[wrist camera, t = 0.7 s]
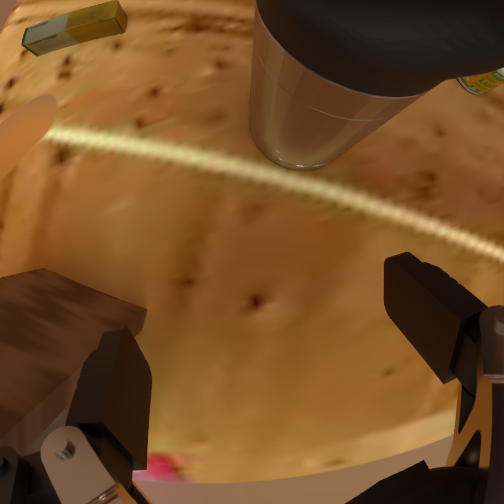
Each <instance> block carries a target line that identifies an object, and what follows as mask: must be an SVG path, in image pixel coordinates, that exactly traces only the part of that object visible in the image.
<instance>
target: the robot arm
mask: <svg viewBox="0 0 504 504" xmlns="http://www.w3.org/2000/svg"><path fill="white" fill-rule="evenodd" d="M502 68H504V0H256V1H255V18H254V40H253V57H252V74H251V91H250V106H249V127H250V131H251V134H252V138H253V140H254V141H255V143H256V145H257V147H258V148H259V149H260V150H261V152H262V153H263V154H264V155H265V156H266V157H268V158H269V159H270V160H271V161H273V162H274V163H276V164H278V165H280V166H282V167H285V168H289V169H292V170H302V171H307V170H314V169H318V168H321V167H323V166H326V165H327V164H329V163H331V162H332V161H334V160H335V159H336V158H338V157H339V156H340V155H342V154H343V153H345V152H346V151H347V150H349V149H350V148H352V147H353V146H354V145H356V144H357V143H358V142H360V141H361V140H362V139H364V138H365V137H366V136H368V135H369V134H371V133H372V132H373V131H375V130H376V129H377V128H379V127H380V126H382V125H383V124H384V123H386V122H387V121H388V120H390V119H391V118H393V117H394V116H395V115H397V114H398V113H399V112H401V111H402V110H403V109H405V108H406V107H407V106H409V105H410V104H412V103H413V102H414V101H416V100H417V99H419V98H420V97H421V96H423V95H424V94H426V93H427V92H428V91H430V90H431V89H432V88H434V87H435V86H437V85H438V84H440V83H441V82H443V81H445V80H448V79H454V78H459V77H467V76H474V75H480V74H484V73H489V72H492V71H496V70H499V69H502ZM384 305H385V309H386V312H387V314H388V316H389V317H390V319H391V320H392V321H393V322H394V323H395V325H396V326H397V327H398V328H399V329H400V331H401V332H402V333H403V334H404V335H405V337H406V338H407V339H408V340H409V341H410V343H411V344H412V345H413V346H414V348H415V349H416V350H417V351H418V353H419V354H420V355H421V356H422V357H423V359H424V360H425V361H426V362H427V364H428V365H429V366H430V368H431V369H432V370H433V371H434V373H435V374H436V375H437V376H438V378H439V379H440V380H441V382H442V383H443V384H446V383H447V382H449V381H451V380H453V379H455V378H457V379H458V380H459V381H460V384H459V387H458V397H457V409H456V420H455V429H454V437H453V442H452V446H451V449H450V452H449V455H448V458H447V461H446V465H445V467H438V468H432V469H429V468H428V466H427V464H426V463H425V461H424V460H423V461H421V462H419V463H417V464H415V465H413V466H411V467H409V468H407V469H405V470H403V471H401V472H399V473H396V474H394V475H392V476H389V477H387V478H385V479H383V480H380V481H379V482H377V483H376V484H374V485H373V486H372V487H370V488H369V489H367V490H366V491H364V492H363V493H361V494H360V495H358V496H357V497H355V498H353V499H352V500H350V501H349V502H347V503H345V504H504V306H502V305H495V306H491V307H487V306H486V305H485V304H484V303H483V302H481V301H480V300H479V299H478V298H477V297H476V296H474V295H473V294H472V293H471V292H469V291H468V290H467V289H466V288H465V287H463V286H462V285H461V284H458V282H457V281H456V280H455V279H453V278H452V277H451V278H450V275H448V274H447V273H446V272H444V271H443V270H442V269H441V268H439V267H437V266H434V265H432V264H429V263H426V262H421V261H420V260H419V259H418V258H416V257H415V256H414V255H412V254H411V253H410V252H404V253H401V254H398V255H395V256H392V257H388V258H386V259H385V262H384ZM76 386H77V389H75V392H74V395H73V398H72V402H71V405H70V409H69V412H68V416H67V419H66V423H65V426H63V427H60V428H58V429H56V430H54V431H53V432H51V433H50V434H49V435H48V436H47V438H46V439H45V440H44V442H43V444H42V447H41V451H38V452H35V453H32V454H29V455H26V456H20V455H19V454H18V453H17V452H16V451H15V450H14V449H13V448H11V447H9V446H1V447H0V504H152V503H151V501H150V500H149V499H148V498H147V497H146V496H145V494H144V493H143V492H142V491H141V490H140V489H139V487H138V486H137V485H136V484H135V483H134V482H133V481H132V471H133V470H147V447H148V429H149V414H150V400H151V389H152V375H151V371H150V368H149V365H148V363H147V361H146V359H145V357H144V355H143V354H142V352H141V350H140V348H139V346H138V344H137V342H136V340H135V338H134V337H133V335H132V333H131V331H130V330H129V329H128V328H127V327H123V328H119V329H114V330H110V331H105V332H103V334H102V336H101V339H100V342H99V346H98V349H97V350H93V351H92V352H91V354H90V355H89V356H88V358H87V359H86V360H85V362H84V363H83V366H82V369H81V372H80V378H79V379H78V382H77V385H76Z"/></svg>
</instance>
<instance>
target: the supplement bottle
mask: <svg viewBox="0 0 504 504" xmlns="http://www.w3.org/2000/svg"><path fill="white" fill-rule="evenodd" d="M457 79H458V80H459V82H460V83H461V84H462V86H463V87H464V88H465V89H466V90H468V91H469V92H471V93H473V94H476V95H480V94H483V93H485V92H487V91H489V90H491V89H493V88H495V87H497V86H499V85H501V84H502V83H504V68H502V69H499V70H496V71H492V72H489V73H484V74H480V75H474V76H467V77H459V78H457Z"/></svg>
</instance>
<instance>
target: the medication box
mask: <svg viewBox="0 0 504 504" xmlns="http://www.w3.org/2000/svg"><path fill="white" fill-rule="evenodd" d="M127 18H128V17H127V15H126V14H125V12H124V10H123V9H122V7H121V5H120V3H119V2H118V0H114V1H110V2H106V3H102V4H98V5H94V6H90V7H87V8H83V9H80V10H77V11H73V12H70V13H67V14H64V15H61V16H58V17H55V18H52V19H49V20H47V21H44V22H41V23H39V24H36V25H33V26H31V27H28V28H26V29H25V32H24V35H23V39H22V44H21V45H22V46H23V47H25V48H26V49H28V50H29V51H30V52H32V53H33V54H35V55H36V56H39V55H42V54H45V53H48V52H52V51H55V50H58V49H61V48H65V47H68V46H72V45H75V44H79V43H83V42H87V41H90V40H95V39H99V38H103V37H107V36H112V35H117V34H121V33H124V32H126V31H125V30H126V26H127Z"/></svg>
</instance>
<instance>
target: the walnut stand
mask: <svg viewBox="0 0 504 504" xmlns="http://www.w3.org/2000/svg"><path fill="white" fill-rule="evenodd" d="M146 311H147V309H144V308H141V307H138V306H136V305H133V304H130V303H128V302H125V301H122V300H120V299H117V298H114V297H112V296H109V295H107V294H104V293H102V292H99V291H96V290H94V289H91V288H89V287H87V286H84V285H82V284H79V283H77V282H74V281H72V280H70V279H67V278H65V277H63V276H60V275H58V274H56V273H53V272H51V271H49V270H46V269H44V268H42V269H38V270H33V271H29V272H24V273H20V274H15V275H11V276H6V277H2V278H0V447H1V446H9V447H11V448H13V449H14V450H15V451H16V452H17V453H18V454H19V455H20V456H26V455H29V454H32V453H35V452H38V451H41V447H42V444H43V442H44V440H45V439H46V438H47V436H48V435H49V434H50V433H51V432H53V431H54V430H56V429H58V428H60V427H63V426H65V423H66V419H67V416H68V412H69V409H70V405H71V402H72V398H73V395H74V392H75V389H77V386H76V385H77V382H78V379H79V378H80V372H81V369H82V366H83V363H84V362H85V360H86V359H87V358H88V356H89V355H90V354H91V352H92V351H93V350H97V349H98V346H99V342H100V339H101V336H102V334H103V332H105V331H110V330H114V329H119V328H123V327H127V328H128V329H129V330H130V331H131V333H132V335H133V337H135V336H136V335H137V334H138V333H139V332H140V331H141V330H142V328H143V324H144V319H145V315H146Z"/></svg>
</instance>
